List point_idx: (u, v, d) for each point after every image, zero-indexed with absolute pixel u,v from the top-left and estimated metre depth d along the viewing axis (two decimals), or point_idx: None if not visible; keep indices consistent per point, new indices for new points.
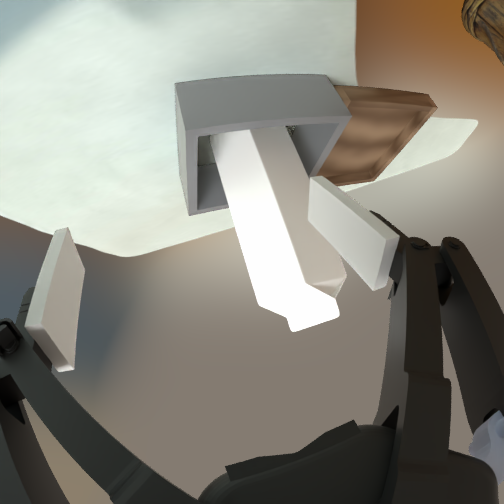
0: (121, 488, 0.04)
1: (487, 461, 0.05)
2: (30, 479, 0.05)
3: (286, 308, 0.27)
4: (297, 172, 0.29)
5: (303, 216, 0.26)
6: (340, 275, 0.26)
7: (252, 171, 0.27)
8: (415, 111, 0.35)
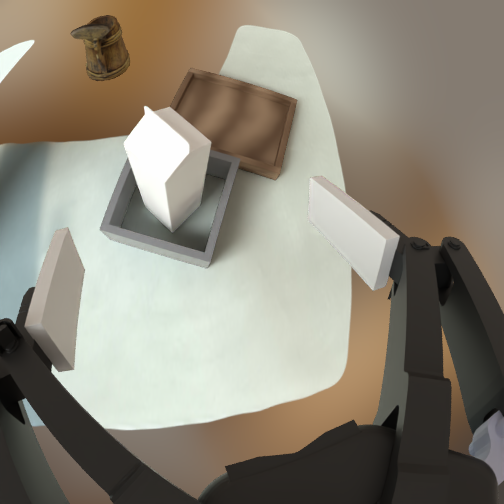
0: (121, 488, 0.04)
1: (487, 461, 0.05)
2: (30, 479, 0.05)
3: (166, 154, 0.25)
4: None
5: None
6: None
7: (145, 193, 0.36)
8: (201, 81, 0.48)
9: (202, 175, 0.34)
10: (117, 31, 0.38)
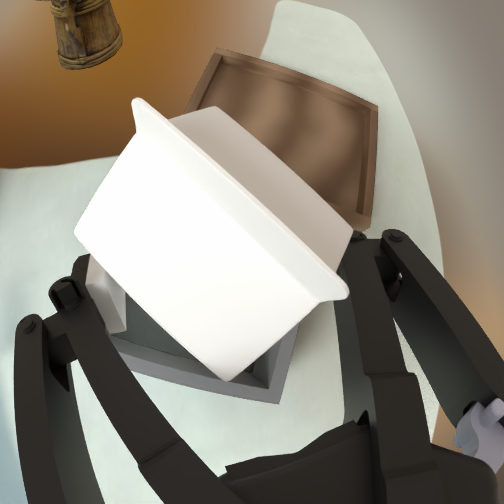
0: (153, 459, 0.05)
1: (478, 455, 0.05)
2: (63, 449, 0.06)
3: (229, 298, 0.07)
4: None
5: None
6: None
7: None
8: (235, 69, 0.30)
9: None
10: None
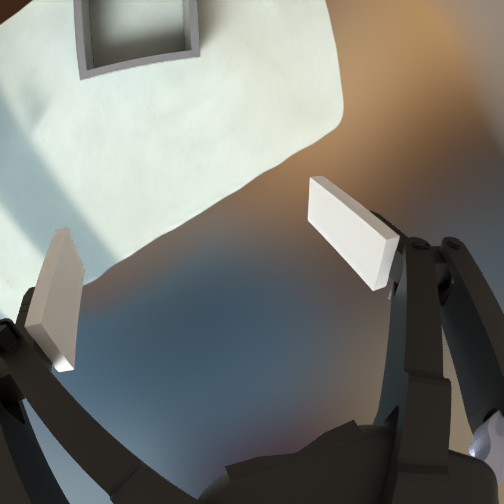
0: (121, 488, 0.04)
1: (487, 461, 0.05)
2: (30, 479, 0.05)
3: None
4: None
5: None
6: None
7: None
8: None
9: None
10: None
